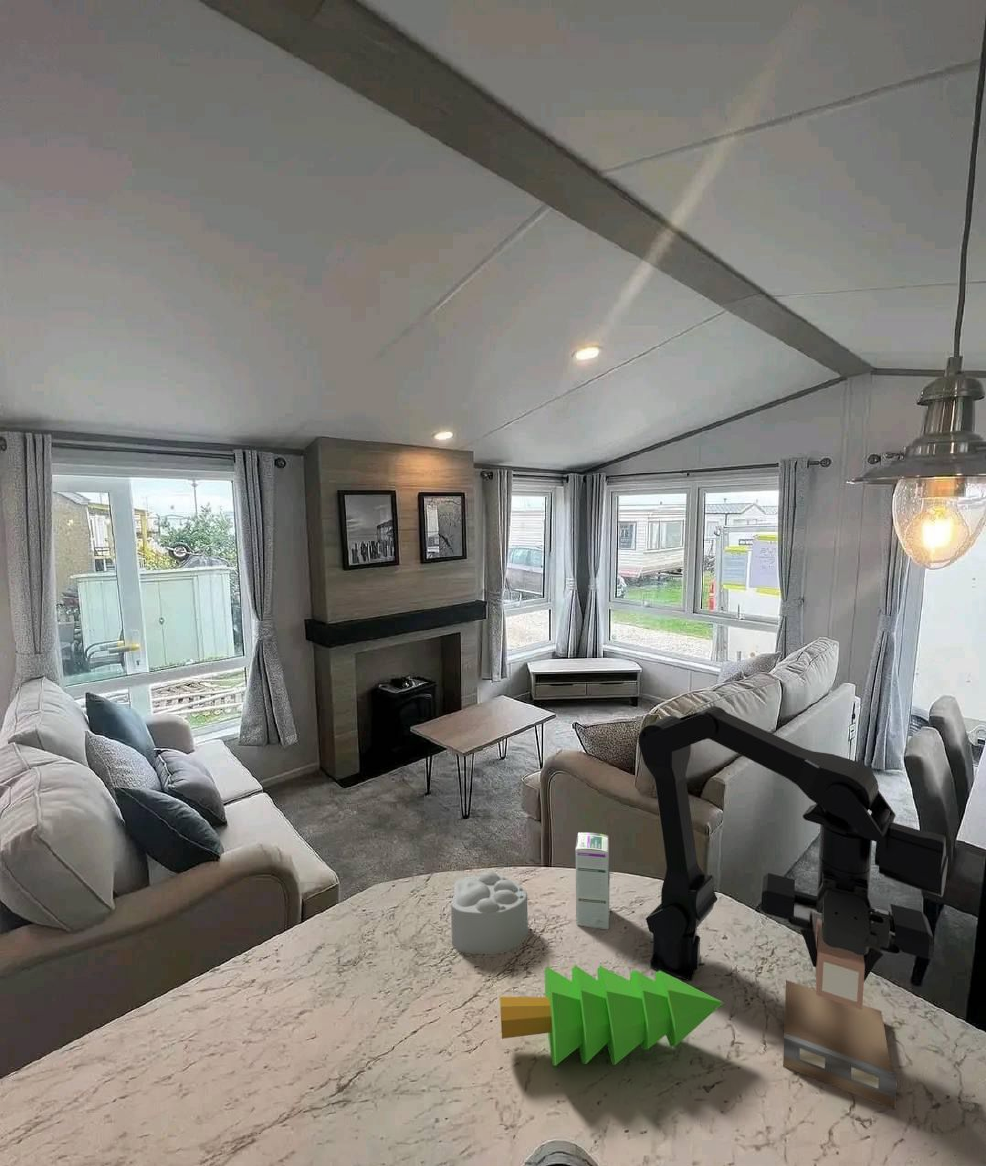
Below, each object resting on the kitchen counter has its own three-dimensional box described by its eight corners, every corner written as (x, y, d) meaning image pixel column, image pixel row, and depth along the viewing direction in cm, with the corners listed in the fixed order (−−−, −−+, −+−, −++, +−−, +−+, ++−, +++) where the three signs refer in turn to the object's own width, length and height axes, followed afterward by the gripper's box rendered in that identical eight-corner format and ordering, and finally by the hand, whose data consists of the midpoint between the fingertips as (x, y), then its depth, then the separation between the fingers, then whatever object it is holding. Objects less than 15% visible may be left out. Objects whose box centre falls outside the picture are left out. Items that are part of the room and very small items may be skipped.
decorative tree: (497, 950, 79) (714, 936, 79) (500, 995, 84) (702, 982, 84) (502, 1048, 69) (750, 1032, 69) (504, 1092, 74) (734, 1077, 74)
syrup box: (609, 930, 100) (610, 851, 98) (575, 926, 101) (575, 847, 99) (609, 909, 105) (610, 833, 104) (576, 905, 106) (577, 830, 105)
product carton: (815, 958, 80) (817, 918, 79) (857, 971, 78) (859, 930, 77) (816, 996, 74) (818, 952, 73) (862, 1011, 71) (864, 966, 71)
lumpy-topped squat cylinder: (455, 911, 105) (455, 867, 104) (526, 912, 104) (526, 867, 104) (449, 953, 95) (448, 904, 94) (528, 955, 94) (528, 905, 93)
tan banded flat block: (782, 1067, 74) (784, 1039, 74) (785, 989, 87) (786, 964, 86) (895, 1111, 68) (897, 1080, 68) (880, 1020, 81) (882, 994, 81)
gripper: (761, 873, 71) (756, 989, 73) (948, 921, 63) (938, 1051, 64) (765, 831, 81) (761, 934, 83) (928, 867, 72) (920, 981, 74)
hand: (837, 972), depth 76 cm, fingers closed on product carton, 5 cm apart
